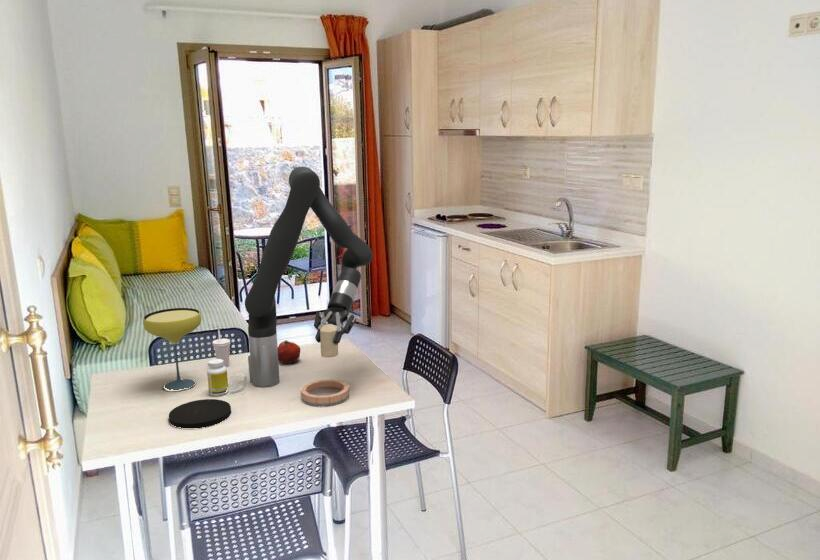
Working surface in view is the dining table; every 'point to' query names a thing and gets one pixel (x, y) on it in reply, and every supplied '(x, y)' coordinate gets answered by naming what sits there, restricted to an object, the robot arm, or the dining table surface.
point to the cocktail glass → (173, 332)
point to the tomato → (288, 352)
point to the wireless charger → (200, 413)
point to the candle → (328, 341)
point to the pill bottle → (217, 377)
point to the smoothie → (222, 349)
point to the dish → (325, 392)
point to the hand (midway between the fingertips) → (326, 342)
